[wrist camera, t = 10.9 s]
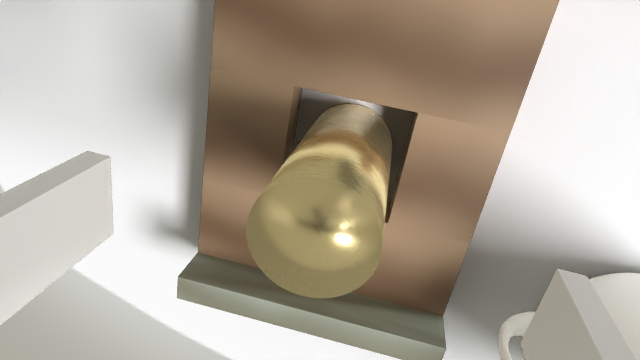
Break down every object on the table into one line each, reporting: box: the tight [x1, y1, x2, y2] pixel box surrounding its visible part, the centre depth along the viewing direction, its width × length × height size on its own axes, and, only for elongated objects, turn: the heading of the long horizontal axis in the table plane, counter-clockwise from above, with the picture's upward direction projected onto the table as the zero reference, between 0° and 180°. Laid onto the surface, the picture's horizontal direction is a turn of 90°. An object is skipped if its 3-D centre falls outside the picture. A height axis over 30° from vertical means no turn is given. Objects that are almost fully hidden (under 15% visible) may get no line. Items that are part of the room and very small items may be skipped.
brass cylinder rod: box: [246, 104, 392, 298], centre depth 18 cm, size 4×4×10 cm
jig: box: [177, 0, 559, 360], centre depth 21 cm, size 18×14×4 cm
